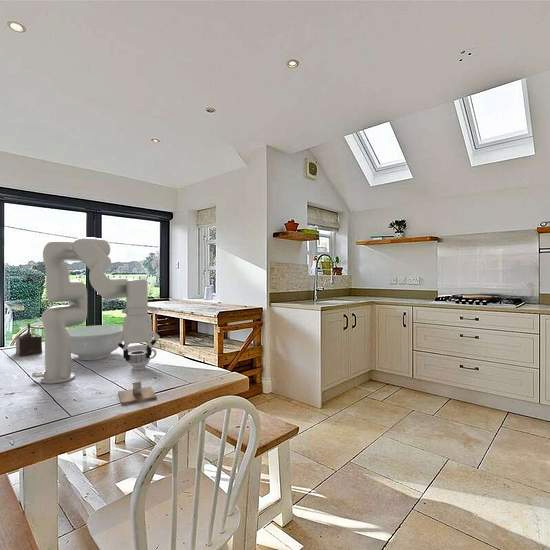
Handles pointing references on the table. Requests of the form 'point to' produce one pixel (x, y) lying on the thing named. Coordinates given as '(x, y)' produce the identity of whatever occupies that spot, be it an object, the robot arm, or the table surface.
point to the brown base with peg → (136, 394)
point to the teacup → (141, 365)
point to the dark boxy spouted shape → (29, 343)
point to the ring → (137, 356)
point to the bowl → (94, 341)
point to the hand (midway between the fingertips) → (137, 358)
